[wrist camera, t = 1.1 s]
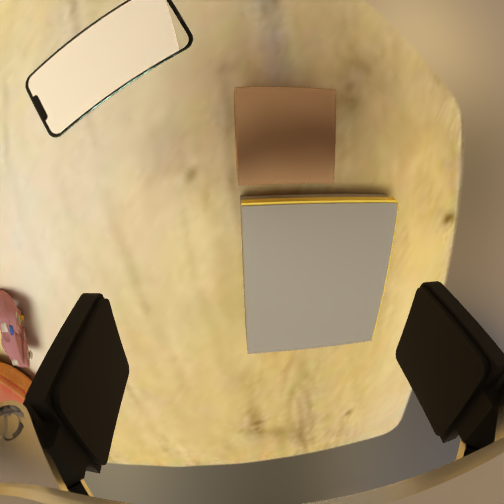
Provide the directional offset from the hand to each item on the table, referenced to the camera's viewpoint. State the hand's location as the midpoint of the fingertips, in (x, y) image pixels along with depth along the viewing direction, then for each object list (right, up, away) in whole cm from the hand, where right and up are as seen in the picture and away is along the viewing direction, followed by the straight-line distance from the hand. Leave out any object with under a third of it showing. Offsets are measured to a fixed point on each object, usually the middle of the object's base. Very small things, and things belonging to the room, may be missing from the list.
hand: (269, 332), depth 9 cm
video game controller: (-31, -7, +24) cm, 40 cm away
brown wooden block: (+1, +13, +17) cm, 21 cm away
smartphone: (-14, +19, +13) cm, 27 cm away
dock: (+6, 0, +23) cm, 24 cm away
